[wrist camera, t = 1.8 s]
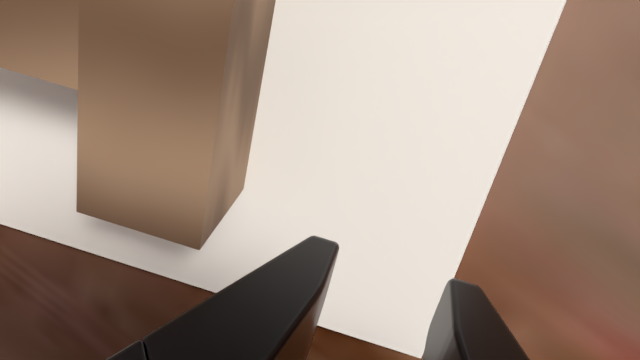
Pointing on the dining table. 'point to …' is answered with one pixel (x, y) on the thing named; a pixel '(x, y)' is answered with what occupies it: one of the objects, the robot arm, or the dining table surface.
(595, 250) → the dining table surface
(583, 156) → the dining table surface
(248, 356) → the robot arm
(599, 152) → the dining table surface
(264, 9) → the t block
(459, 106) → the push board
